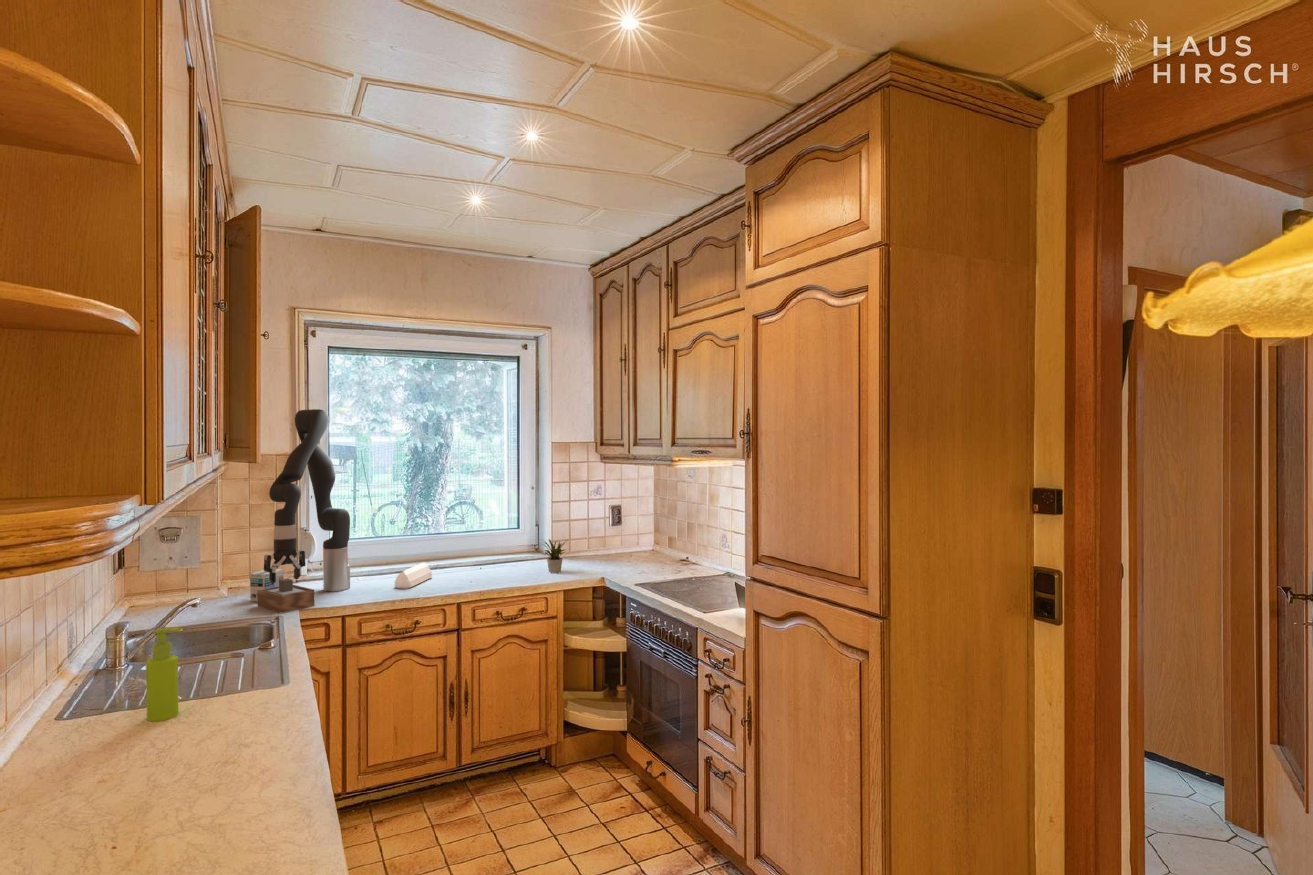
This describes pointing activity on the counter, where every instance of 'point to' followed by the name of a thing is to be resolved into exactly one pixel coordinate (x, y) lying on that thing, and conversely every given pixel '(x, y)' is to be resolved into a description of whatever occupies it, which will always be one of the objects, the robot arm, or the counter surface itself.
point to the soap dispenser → (162, 679)
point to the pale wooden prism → (413, 576)
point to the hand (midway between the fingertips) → (284, 580)
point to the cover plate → (276, 591)
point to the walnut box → (285, 599)
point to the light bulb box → (263, 582)
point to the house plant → (554, 557)
